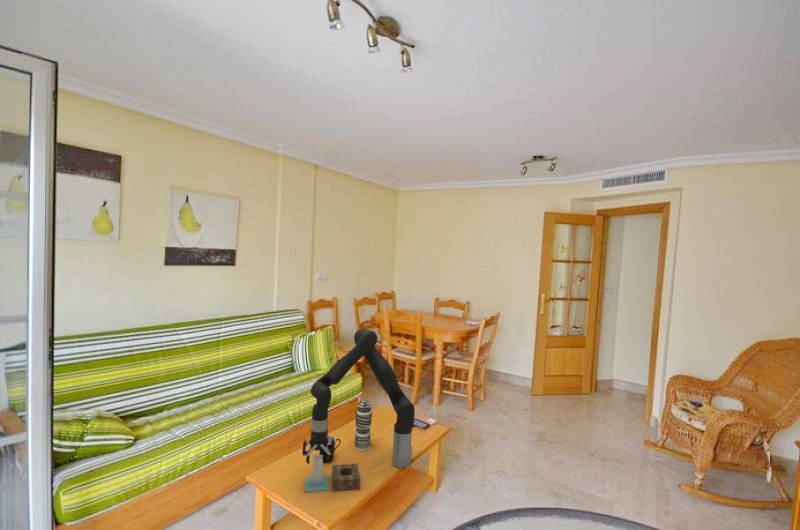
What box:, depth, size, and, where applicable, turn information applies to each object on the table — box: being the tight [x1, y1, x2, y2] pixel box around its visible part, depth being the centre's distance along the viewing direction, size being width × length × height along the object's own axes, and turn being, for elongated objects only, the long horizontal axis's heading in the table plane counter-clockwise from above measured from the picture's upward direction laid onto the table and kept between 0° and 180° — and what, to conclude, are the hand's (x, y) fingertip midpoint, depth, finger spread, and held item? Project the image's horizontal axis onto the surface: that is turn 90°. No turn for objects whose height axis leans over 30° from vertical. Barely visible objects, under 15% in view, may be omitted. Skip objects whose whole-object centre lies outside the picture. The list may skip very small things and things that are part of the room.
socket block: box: [331, 463, 361, 493], centre depth 171 cm, size 12×12×5 cm
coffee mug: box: [318, 435, 342, 464], centre depth 189 cm, size 12×9×10 cm
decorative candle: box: [354, 399, 373, 452], centre depth 202 cm, size 9×9×25 cm
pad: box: [304, 475, 329, 493], centre depth 168 cm, size 10×10×1 cm
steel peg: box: [312, 454, 324, 486], centre depth 168 cm, size 4×4×12 cm
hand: (318, 462), depth 168 cm, fingers open, 8 cm apart
